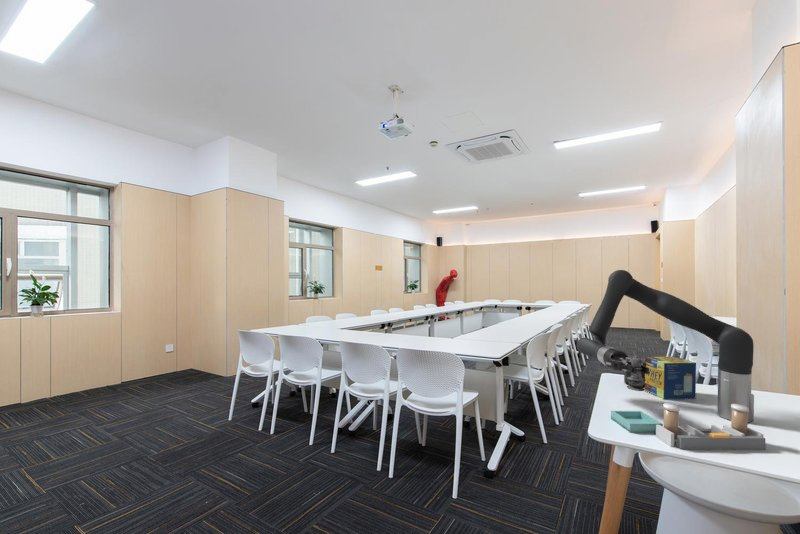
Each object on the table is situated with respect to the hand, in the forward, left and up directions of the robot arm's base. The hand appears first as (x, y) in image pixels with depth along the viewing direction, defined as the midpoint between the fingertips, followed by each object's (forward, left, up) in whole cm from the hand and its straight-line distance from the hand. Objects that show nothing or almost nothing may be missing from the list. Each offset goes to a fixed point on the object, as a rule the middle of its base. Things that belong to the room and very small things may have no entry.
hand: (641, 370), depth 125 cm
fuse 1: (-5, +8, -20) cm, 22 cm away
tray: (0, -3, -20) cm, 20 cm away
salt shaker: (0, -3, -7) cm, 8 cm away
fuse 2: (-27, +8, -20) cm, 34 cm away
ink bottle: (-30, -48, -20) cm, 60 cm away
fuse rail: (-16, +8, -20) cm, 26 cm away
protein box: (-36, -34, -20) cm, 53 cm away
